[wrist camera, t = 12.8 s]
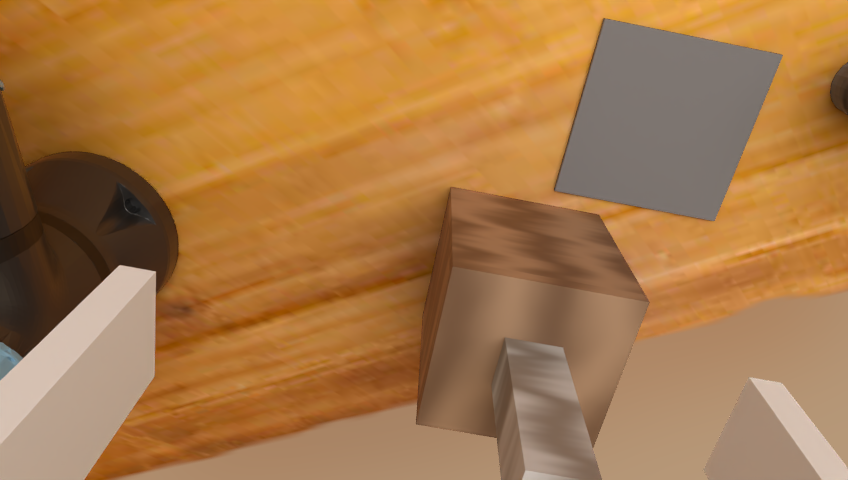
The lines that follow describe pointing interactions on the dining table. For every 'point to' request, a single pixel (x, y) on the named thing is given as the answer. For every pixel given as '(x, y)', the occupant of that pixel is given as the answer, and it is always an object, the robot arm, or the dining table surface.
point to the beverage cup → (840, 89)
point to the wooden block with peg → (526, 332)
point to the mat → (664, 119)
